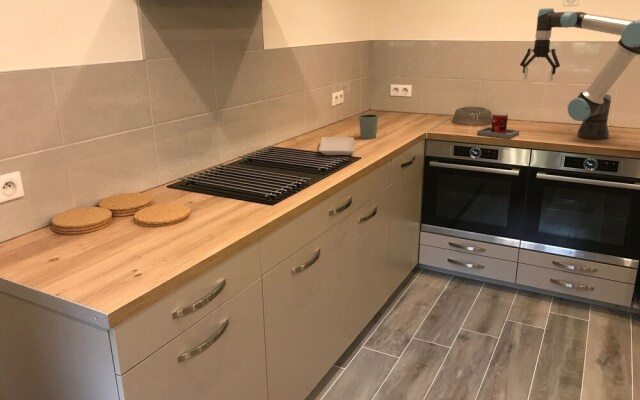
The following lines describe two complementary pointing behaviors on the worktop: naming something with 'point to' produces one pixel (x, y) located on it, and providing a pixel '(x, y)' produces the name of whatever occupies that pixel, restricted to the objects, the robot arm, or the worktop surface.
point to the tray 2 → (488, 133)
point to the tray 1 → (337, 145)
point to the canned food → (499, 122)
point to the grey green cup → (368, 126)
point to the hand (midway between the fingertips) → (537, 80)
